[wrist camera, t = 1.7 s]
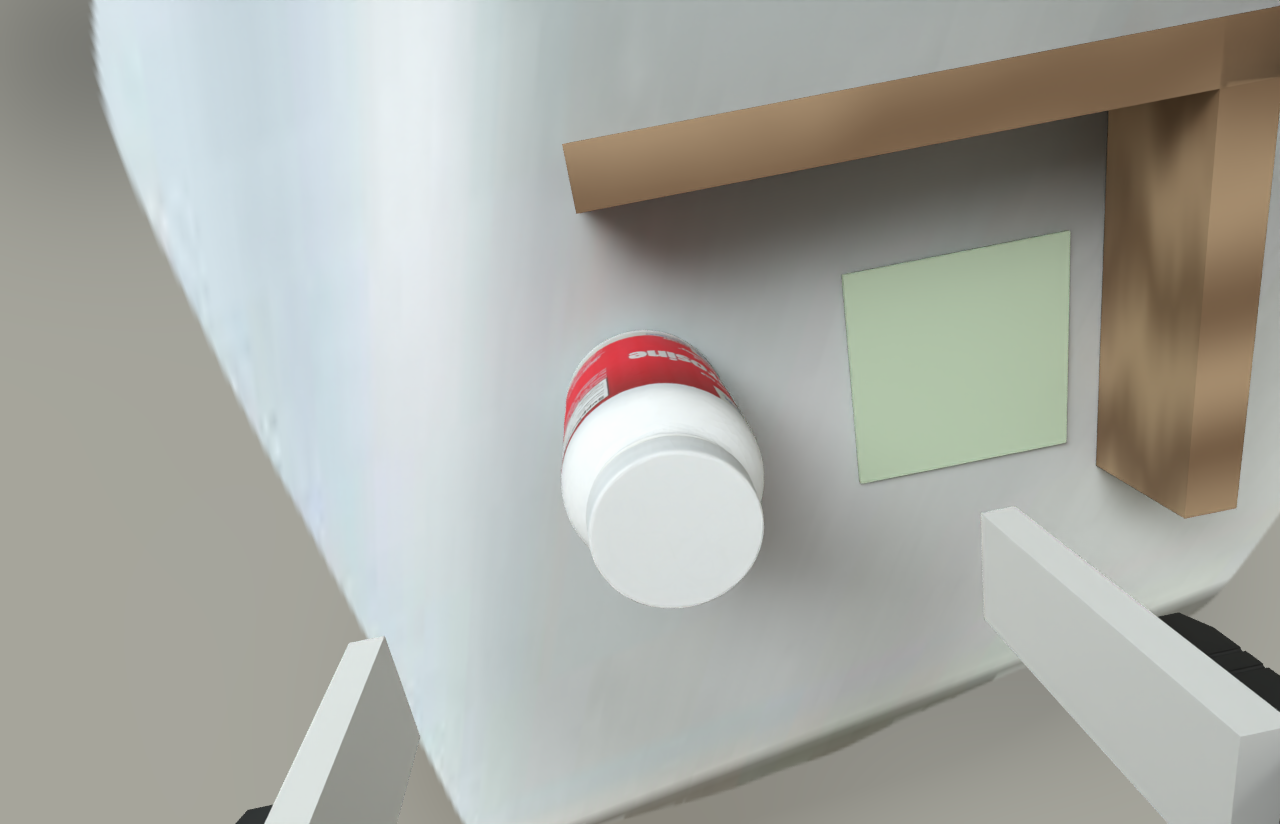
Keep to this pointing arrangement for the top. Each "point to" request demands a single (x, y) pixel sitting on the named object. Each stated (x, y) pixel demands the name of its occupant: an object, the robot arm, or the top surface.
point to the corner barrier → (1134, 210)
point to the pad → (959, 356)
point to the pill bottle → (661, 471)
